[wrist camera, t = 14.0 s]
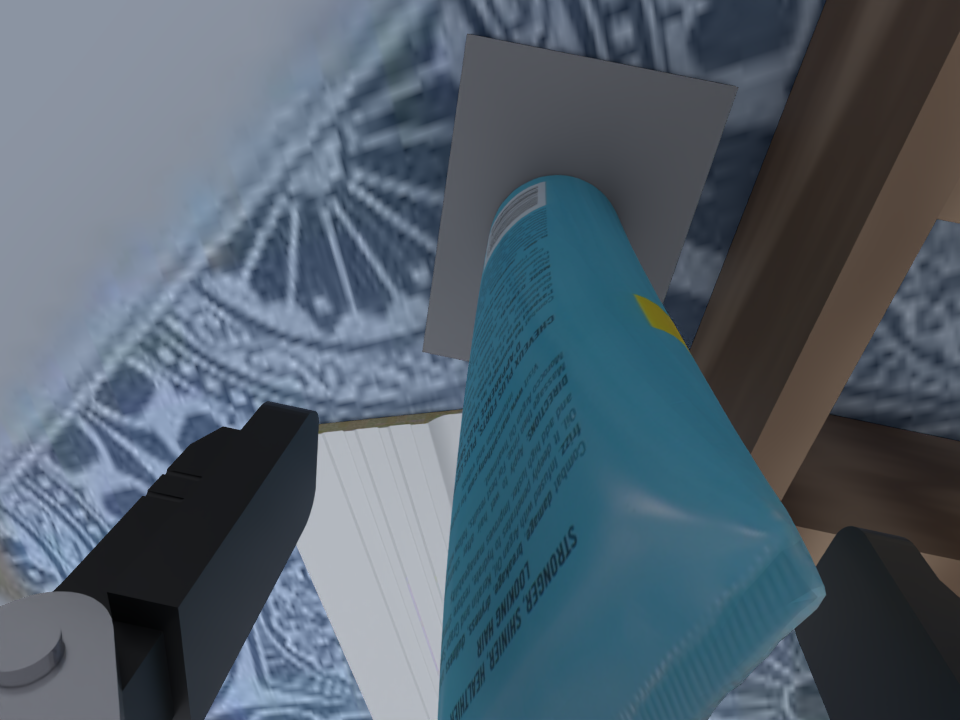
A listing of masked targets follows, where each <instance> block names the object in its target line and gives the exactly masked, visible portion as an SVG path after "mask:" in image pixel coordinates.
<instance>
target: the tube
mask: <svg viewBox="0 0 960 720" xmlns="http://www.w3.org/2000/svg"><path fill="white" fill-rule="evenodd" d="M825 596H826V592H825V587H824V584H823V582H822V580H821V577H820V575H819V573H818V571H817V568H816V566H815V564H814V562H813V560H812V557H811V555H810V553H809V551H808V549H807V547H806V545H805V544H804V542H803V540H802V538H801V536H800V534H799V532H798V530H797V528H796V526H795V524H794V523H793V521H792V519H791V517H790V515H789V513H788V512H787V510H786V508H785V507H784V505H783V504H782V502H781V501H780V499H779V498H778V496H777V495H776V493H775V492H774V490H773V489H772V487H771V486H770V485H769V483H768V482H767V480H766V479H765V477H764V475H763V474H762V472H761V471H760V469H759V467H758V466H757V464H756V462H755V461H754V459H753V458H752V456H751V454H750V453H749V451H748V450H747V448H746V446H745V445H744V443H743V442H742V440H741V438H740V437H739V435H738V434H737V432H736V430H735V429H734V427H733V425H732V424H731V422H730V420H729V419H728V417H727V415H726V413H725V412H724V410H723V408H722V407H721V405H720V403H719V401H718V400H717V398H716V396H715V395H714V393H713V391H712V389H711V388H710V386H709V384H708V383H707V381H706V379H705V377H704V376H703V374H702V372H701V371H700V369H699V367H698V365H697V363H696V362H695V360H694V358H693V356H692V355H691V353H690V351H689V349H688V348H687V346H686V344H685V342H684V341H683V339H682V337H681V335H680V334H679V332H678V330H677V328H676V327H675V325H674V323H673V322H672V320H671V318H670V316H669V315H668V313H667V311H666V310H665V308H664V306H663V304H662V303H661V301H660V299H659V298H658V296H657V294H656V292H655V290H654V288H653V286H652V284H651V283H650V281H649V279H648V277H647V275H646V273H645V271H644V270H643V268H642V266H641V264H640V262H639V260H638V258H637V256H636V254H635V252H634V250H633V248H632V246H631V244H630V242H629V240H628V238H627V235H626V233H625V231H624V229H623V226H622V224H621V222H620V220H619V217H618V215H617V213H616V211H615V209H614V208H613V206H612V204H611V203H610V201H609V200H608V199H607V197H606V196H605V195H604V194H603V193H602V192H601V191H600V190H599V189H597V188H596V187H595V186H593V185H591V184H589V183H588V182H586V181H584V180H581V179H579V178H575V177H571V176H566V175H550V176H544V177H539V178H536V179H533V180H531V181H529V182H527V183H525V184H523V185H521V186H520V187H518V188H517V189H516V190H514V191H513V192H512V193H511V194H510V195H509V196H508V197H507V198H506V199H505V201H504V202H503V203H502V204H501V206H500V207H499V209H498V211H497V213H496V215H495V217H494V220H493V222H492V226H491V230H490V234H489V239H488V245H487V250H486V255H485V261H484V267H483V273H482V279H481V285H480V291H479V297H478V304H477V310H476V317H475V324H474V331H473V338H472V345H471V352H470V359H469V367H468V374H467V381H466V389H465V397H464V405H463V413H462V421H461V429H460V439H459V448H458V457H457V466H456V476H455V485H454V494H453V504H452V514H451V525H450V536H449V547H448V558H447V570H446V583H445V596H444V610H443V626H442V642H441V660H440V680H439V700H438V720H708V719H709V717H710V716H711V714H712V713H713V711H714V710H715V708H716V707H717V706H718V705H719V704H720V703H721V701H722V700H723V699H724V698H725V697H726V695H727V694H728V693H729V692H730V691H732V690H733V689H735V688H736V687H738V686H739V685H741V683H742V682H743V681H744V680H745V679H746V678H747V677H748V676H749V675H750V674H751V673H752V671H753V670H754V669H755V668H756V667H757V666H758V665H759V664H760V663H762V662H763V661H764V660H765V659H766V658H767V657H768V656H769V655H770V653H771V652H772V651H773V650H774V648H775V647H776V646H777V645H778V643H779V642H780V641H781V640H782V639H783V638H785V637H786V636H787V635H788V634H789V633H790V632H791V631H793V630H794V629H795V628H796V627H797V626H798V625H799V624H801V623H802V622H803V621H804V620H805V619H806V618H807V617H808V616H810V615H811V614H812V613H813V612H814V611H815V610H816V609H817V608H818V607H819V605H820V603H821V602H822V600H823V599H824V597H825Z"/></svg>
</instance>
